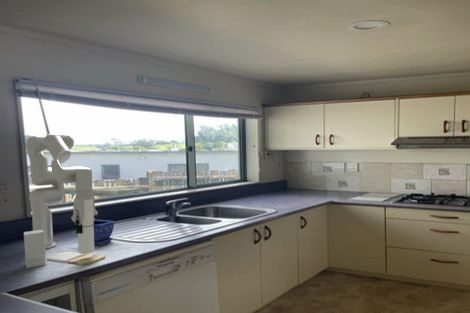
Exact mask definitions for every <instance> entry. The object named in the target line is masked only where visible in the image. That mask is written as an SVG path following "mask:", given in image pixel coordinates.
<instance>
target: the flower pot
mask: <svg viewBox="0 0 470 313" xmlns="http://www.w3.org/2000/svg"><path fill="white" fill-rule="evenodd" d="M94 226H95V229H94V246H97V247H99V246H103V245H105V244H108V243H111V242H112V241H113V239H114V238H113V237H111V236H112V234H113V231H114V226H115V221H114V220H104V219H95V221H94Z"/></svg>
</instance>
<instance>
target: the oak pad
mask: <svg viewBox="0 0 470 313" xmlns="http://www.w3.org/2000/svg"><path fill="white" fill-rule="evenodd" d="M104 258H105V259H106V255H99V254H92V253H87V254H84V255H81V256H79V257H76V258H73V259H71V260H68V261H67V262H66V263H68V264H74V265H82V266H87V265H88V266H90V265H92V264H95V263H97V262H99V260H100V261H102V260H104ZM94 262H95V263H94ZM89 264H90V265H89Z"/></svg>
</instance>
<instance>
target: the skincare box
mask: <svg viewBox="0 0 470 313" xmlns="http://www.w3.org/2000/svg"><path fill="white" fill-rule="evenodd" d="M23 242H24V243H23V244H24V256H25V257H24V259H25V266H26V267H25V268H26V269H31V268H35V267H41V266H46V265H47V264H46V252H45V251H46V249H45V246H44V232H43V230H36V231H33V230H30V231H24V232H23Z"/></svg>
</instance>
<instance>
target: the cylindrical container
mask: <svg viewBox="0 0 470 313" xmlns="http://www.w3.org/2000/svg"><path fill="white" fill-rule="evenodd" d="M78 218H80V216H79V215H78ZM78 221H80V220H78ZM81 225H82V231H83V233H81V234H80V233H77V246H78V247H77V249H78V250H77V251H78V252H77V253H80V254H92V253H94V252H95V245H94V225H93V199H88V200H84V219H82V223H81Z"/></svg>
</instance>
